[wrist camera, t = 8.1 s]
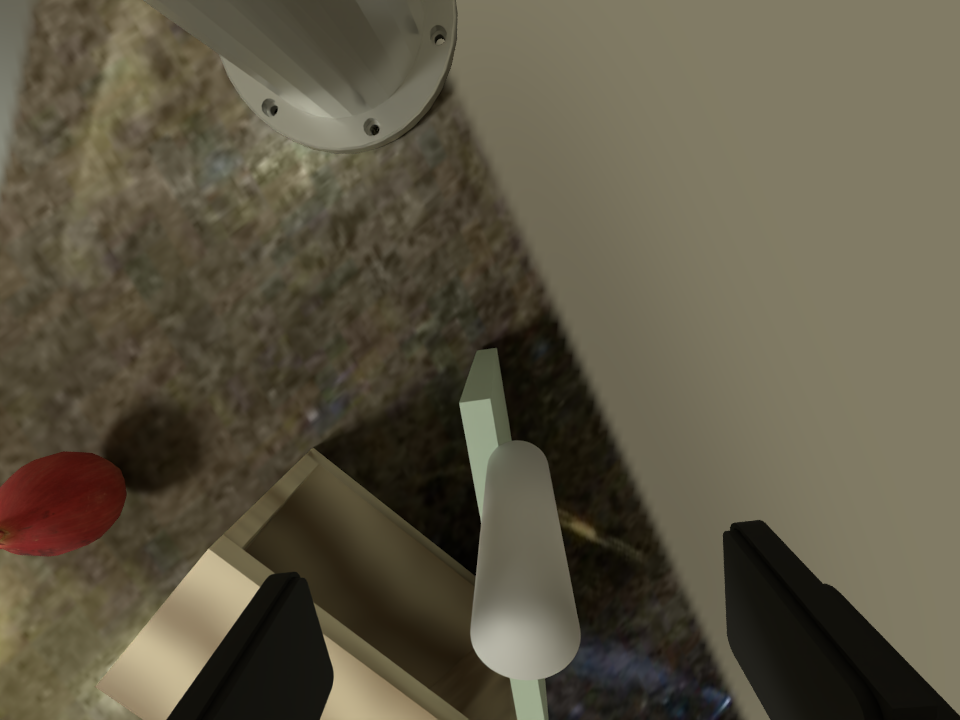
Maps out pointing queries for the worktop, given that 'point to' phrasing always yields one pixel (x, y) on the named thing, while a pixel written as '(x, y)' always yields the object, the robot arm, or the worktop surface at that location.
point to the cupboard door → (516, 549)
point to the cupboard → (328, 608)
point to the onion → (59, 503)
